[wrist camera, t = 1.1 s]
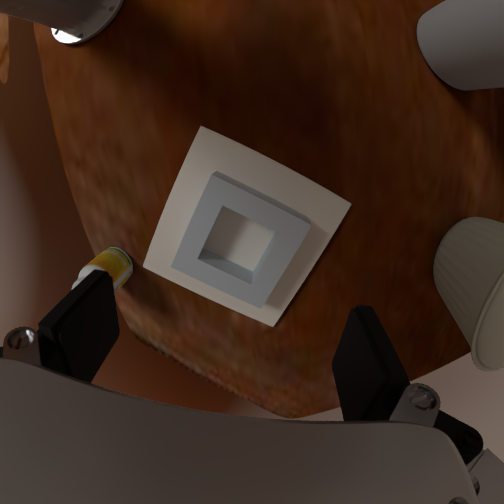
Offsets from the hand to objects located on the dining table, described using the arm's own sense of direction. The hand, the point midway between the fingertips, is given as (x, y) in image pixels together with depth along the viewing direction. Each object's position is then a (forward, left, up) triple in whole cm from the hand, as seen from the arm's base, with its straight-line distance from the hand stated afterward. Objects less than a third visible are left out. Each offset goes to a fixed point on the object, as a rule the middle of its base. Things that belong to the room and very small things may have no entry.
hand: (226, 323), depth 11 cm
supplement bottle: (-13, -17, -26) cm, 34 cm away
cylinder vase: (+14, +33, -26) cm, 44 cm away
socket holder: (+1, -5, -26) cm, 26 cm away
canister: (+32, +8, -26) cm, 42 cm away
